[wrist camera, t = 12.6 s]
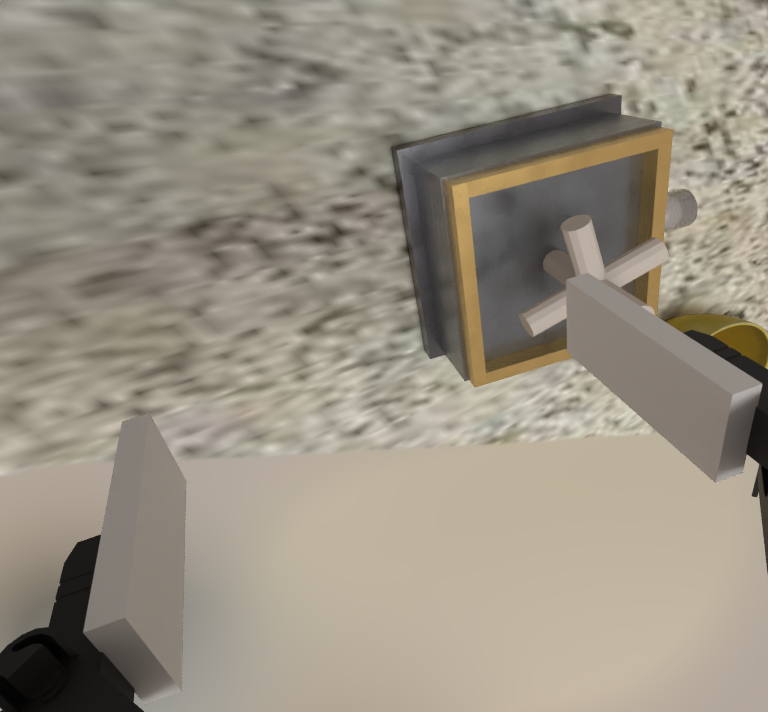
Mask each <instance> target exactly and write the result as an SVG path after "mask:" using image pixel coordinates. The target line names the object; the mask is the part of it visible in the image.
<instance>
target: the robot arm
mask: <svg viewBox="0 0 768 712" xmlns="http://www.w3.org/2000/svg"><path fill="white" fill-rule="evenodd" d="M566 309H567V352H568V353H569V354H570V355H571V356H572V357H574V358H575V359H576V360H577V361H578V362H579V363H580V364H581V365H583V366H584V367H585V368H586V369H587V370H588V371H589V372H591V373H592V374H593V375H594V376H595V377H596V378H597V379H598V380H600V381H601V382H602V383H603V384H604V385H605V386H606V387H607V388H609V389H610V390H611V391H612V392H613V393H614V394H615V395H617V396H618V397H619V398H620V399H621V400H622V401H623V402H624V403H626V404H627V405H628V406H629V407H630V408H631V409H632V410H634V411H635V412H636V413H637V414H638V415H639V416H640V417H641V418H643V419H644V420H645V421H646V422H647V423H648V424H649V425H650V426H652V427H653V428H654V429H655V430H656V431H657V432H658V433H660V434H661V435H662V436H663V437H664V438H665V439H666V440H668V441H669V442H670V443H671V444H672V445H673V446H674V447H675V448H676V449H678V450H679V451H680V452H681V453H682V454H683V455H684V456H686V457H687V458H688V459H689V460H690V461H691V462H693V464H695V465H696V466H697V467H698V468H699V469H700V470H701V471H703V472H704V473H705V474H706V475H707V476H708V477H709V478H710V479H712V480H713V481H714V482H715V483H717V482H720V481H722V480H725V479H727V478H730V477H732V476H735V475H738V474H740V473H743V468H744V464H745V460H746V455H749V456H750V457H751V458H753V459H754V460H755V461H756V462H758V463H759V469H758V473H757V477H756V481H755V484H754V489H753V493H752V496H753V497H757V496H758V492H759V498H760V507H761V516H762V526H763V535H764V544H765V554H766V563H767V572H768V369H766V368H765V367H763V366H761V365H760V364H758V363H756V362H755V361H753V360H751V359H750V358H748V357H746V356H745V355H744V356H742V355H741V353H740V352H738V351H737V350H735V349H733V348H732V347H731V348H729V347H728V345H727V344H725V343H723V342H722V341H720V340H718V339H717V338H715V337H713V336H711V335H708V334H705V333H701V332H698V331H695V330H689V331H686V332H684V333H682V332H680V331H679V330H677V329H676V328H674V327H672V326H671V325H669V324H668V323H666V322H665V321H663V320H661V319H660V318H658V317H657V316H655V315H654V314H652V313H650V312H649V311H647V310H646V309H644V308H643V307H641V306H639V305H638V304H636V303H635V302H633V301H632V300H630V299H628V298H627V297H625V296H624V295H622V294H621V293H619V292H617V291H616V290H614V289H613V288H611V287H610V286H608V285H606V284H605V283H603V282H602V281H600V280H598V279H597V278H595V277H594V276H592V275H591V274H589V273H586V274H582V275H579V276H576V277H573V278H570V279H567V280H566ZM185 512H186V480H185V478H184V476H183V474H182V472H181V470H180V468H179V467H178V465H177V463H176V461H175V459H174V457H173V456H172V454H171V452H170V450H169V448H168V446H167V444H166V443H165V441H164V439H163V437H162V435H161V433H160V432H159V430H158V428H157V426H156V424H155V422H154V421H153V419H152V417H151V415H150V413H148V414H145V415H141V416H138V417H135V418H132V419H129V420H126V421H123V422H122V425H121V431H120V436H119V442H118V447H117V452H116V458H115V463H114V468H113V474H112V479H111V485H110V490H109V495H108V501H107V506H106V512H105V518H104V522H103V528H102V533H101V535H98V536H95V537H92V538H89V539H87V540H84V541H81V542H78V543H77V544H76V546H75V547H74V549H73V550H72V552H71V553H70V555H69V556H68V558H67V560H66V561H65V563H64V566H63V570H62V574H61V579H60V586H59V587H58V591H57V595H56V602H55V603H54V607H53V611H52V615H51V619H50V623H49V627H46V628H38V629H34V630H32V631H30V632H27V633H25V634H23V635H21V636H20V637H18V638H17V639H16V640H14V641H13V642H12V643H10V644H9V645H8V646H7V647H6V648H5V649H4V650H3V651H2V652H1V653H0V708H1V709H2V711H1V712H144V711H143V710H142V709H140V708H139V707H138V706H137V705H136V704H135V703H134V702H133V701H134V692H135V693H136V694H137V695H138V697H139V698H140V699H141V700H142V701H143V702H144V703H145V704H149V703H151V702H154V701H157V700H159V699H162V698H164V697H167V696H169V695H172V694H175V693H177V692H180V691H182V654H183V650H182V649H183V609H184V607H183V606H184V562H185V515H186V514H185Z"/></svg>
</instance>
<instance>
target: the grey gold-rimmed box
mask: <svg viewBox="0 0 768 712" xmlns="http://www.w3.org/2000/svg"><path fill="white" fill-rule="evenodd" d="M621 98H622V95H614V94H608V95H603V96H599V97H595V98H591V99H587V100H583V101H579V102H575V103H571V104H567V105H562V106H558V107H554V108H550V109H546V110H542V111H538V112H534V113H530V114H526V115H521V116H517V117H513V118H509V119H505V120H501V121H497V122H493V123H489V124H484V125H480V126H476V127H472V128H468V129H464V130H460V131H456V132H452V133H448V134H443V135H439V136H435V137H431V138H427V139H423V140H419V141H415V142H411V143H407V144H402V145H398V146H394V147H392V153H393V159H394V165H395V171H396V178H397V184H398V190H399V196H400V202H401V208H402V214H403V220H404V226H405V233H406V239H407V245H408V251H409V257H410V263H411V269H412V275H413V281H414V288H415V294H416V300H417V306H418V312H419V318H420V324H421V330H422V336H423V343H424V349H425V352H426V353H427V355H428V356H429V358H430V359H432V358H435V357H438V356H442V355H446V356H447V357H448V359H449V360H450V361H451V363H452V364H453V366H454V367H455V368H456V370H457V371H458V372H459V374H460V375H461V376H462V378H463V379H464V381H467V380H470V382H471V383H472V384H473V386H474V387H478V386H482V385H485V384H488V383H491V382H495V381H498V380H501V379H504V378H508V377H511V376H514V375H517V374H521V373H524V372H527V371H530V370H534V369H537V368H540V367H543V366H547V365H550V364H553V363H556V362H560V361H563V360H566V359H569V358H573V357H572V356H571V355H570V354H569V353H568V352H567V318H566V319H564V320H562V321H560V322H559V323H557V324H555V325H553V326H552V327H550V328H548V329H546V330H545V331H543V332H541V333H539V334H538V335H536V336H534V337H532V336H530V335H529V334H528V332H527V331H526V330H525V328H524V327H523V325H522V323H521V321H520V318H519V313H521V312H523V311H524V310H526V309H528V308H530V307H531V306H533V305H535V304H537V303H538V302H540V301H542V300H544V299H545V298H547V297H549V296H551V295H552V294H554V293H556V292H558V291H559V290H561V289H563V288H565V287H566V286H565V285H564V284H562V283H561V282H560V281H558V280H557V279H555V278H554V277H553V276H551V275H550V274H548V273H547V272H546V271H545V270H544V268H543V261H544V258H545V257H546V255H547V254H548V253H550V252H551V251H553V250H560V251H562V252H564V253H566V254H567V255H569V254H568V250H567V247H566V244H565V241H564V237H563V234H562V231H561V228H560V227H561V225H562V223H563V222H564V221H566V220H567V219H568V218H571V217H573V216H576V215H582V214H583V215H589V216H590V218H591V220H592V224H593V227H594V231H595V235H596V239H597V242H598V246H599V250H600V254H601V257H602V261H603V265H605V264H607V263H608V262H610V261H612V260H614V259H616V258H617V257H619V256H621V255H623V254H624V253H626V252H628V251H630V250H631V249H633V248H635V247H637V246H638V245H640V244H642V243H644V242H645V241H647V240H649V239H651V238H652V237H655V238H658V239H659V240H661V241H662V242H663V240H664V232H668V231H671V230H675V229H678V228H682V227H685V226H689V225H691V224H692V223H693V222H694V220H695V219H696V216H697V203H696V200H695V197H694V196H693V194H692V193H691V192H690V191H688V190H686V189H679V190H675V191H671V192H668V183H669V171H670V160H671V148H672V137H673V129H668V128H663V127H661V123H662V122H660V121H654V120H649V119H643V118H638V117H632V116H627V115H621ZM660 274H661V265H659V266H657V267H655V268H654V269H652V270H650V271H648V272H647V273H645V274H643V275H641V276H640V277H638V278H636V279H634V280H633V281H631V282H629V283H627V284H625V285H624V286H622V287H620V288H622V289H623V290H625V291H626V292H628V293H630V294H631V295H633V296H634V297H636V298H638V299H639V300H641V301H642V302H644V303H646V304H647V305H649V306H650V307H652V308H653V309H654V312H655V316H657V308H658V297H659V285H660Z"/></svg>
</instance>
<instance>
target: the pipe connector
mask: <svg viewBox="0 0 768 712" xmlns="http://www.w3.org/2000/svg"><path fill="white" fill-rule="evenodd" d="M560 228H561V231H562V234H563V237H564V241H565V244H566V247H567V250H568V254H569V255H567V254H566V253H564V252H562V251H560V250H553V251H551V252H550V253H548V254H547V255H546V257H545V258H544V261H543V268H544V270H545V271H546V272H547V273H548V274H550V275H551V276H553V277H554V278H555V279H557V280H558V281H560V282H561V283H562V284H564V285H565V286H566V280H567V279H570V278H573V277H576V276H579V275H582V274H586V273H589V274H591V275H592V276H594V277H595V278H597V279H598V280H600V281H602V282H603V283H605V284H606V285H608V286H610V287H611V288H613V289H614V290H616V291H617V292H619V293H621V294H622V295H624V296H625V297H627V298H628V299H630V300H632V301H633V302H635V303H636V304H638V305H639V306H641V307H643V308H644V309H646V310H647V311H649V312H650V313H652V314H654V315H655V312H654V309H653V308H652V307H650V306H649V305H647V304H646V303H644V302H642V301H641V300H639V299H638V298H636V297H634V296H633V295H631V294H630V293H628V292H626V291H625V290H623V289H622V288H620V287H622V286H624V285H625V284H627V283H629V282H631V281H633V280H634V279H636V278H638V277H640V276H641V275H643V274H645V273H647V272H648V271H650V270H652V269H654V268H655V267H657V266H659V265H661V264H662V263H664V262H666V261H667V260H668V259H669V253H668V251H667V248H666V246H665V245H664V244H663V242H662V241H661V240H659V239H658V238H655V237H652V238H651V239H649V240H647V241H645V242H644V243H642V244H640V245H638V246H637V247H635V248H633V249H631V250H630V251H628V252H626V253H624V254H623V255H621V256H619V257H617V258H616V259H614V260H612V261H610V262H608V263H607V264H605V265H603V261H602V257H601V254H600V250H599V246H598V242H597V239H596V235H595V231H594V227H593V224H592V220H591V218H590V216H589V215H583V214H582V215H576V216H573V217H571V218H568V219H567V220H566V221H564V222H563V223H562V225H561V227H560ZM519 318H520V321H521V323H522V325H523V327H524V328H525V330H526V331H527V332H528V334H529V335H530V336H532V337H534V336H536V335H538V334H539V333H541V332H543V331H545V330H546V329H548V328H550V327H552V326H553V325H555V324H557V323H559V322H560V321H562V320H564V319H566V318H567V309H566V287H565V288H563V289H561V290H559V291H558V292H556V293H554V294H552V295H551V296H549V297H547V298H545V299H544V300H542V301H540V302H538V303H537V304H535V305H533V306H531V307H530V308H528V309H526V310H524V311H523V312H521V313H519Z"/></svg>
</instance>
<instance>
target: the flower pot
mask: <svg viewBox="0 0 768 712" xmlns="http://www.w3.org/2000/svg"><path fill="white" fill-rule="evenodd" d="M666 323H668V324H669V325H671V326H672V327H674V328H676V329H677V330H679V331H680V332H682V333H684V332H686V331H689V330H695V331H698V332H701V333H705V334H708V335H711V336H713V337H715V338H717V339H718V340H720V341H722V342H723V343H725V344H727V345H728V347H729V348H731V347H732V348H733V349H735V350H737V351H738V352H740V353H741V355H742V356H744V355H745V356H746V357H748V358H750V359H751V360H753V361H755V362H756V363H758V364H760V365H761V366H763V367H765V368H766V369H767V367H768V333H767V331H766V330H765V329H764V328H762V327H761V326H759V325H757V324H754V323H752V322H749V321H745V320H742V319H738V318H734V317H729V316H723V315H714V314H691V315H684V316H678V317H674V318H671V319H669V320H668V321H666Z"/></svg>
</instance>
